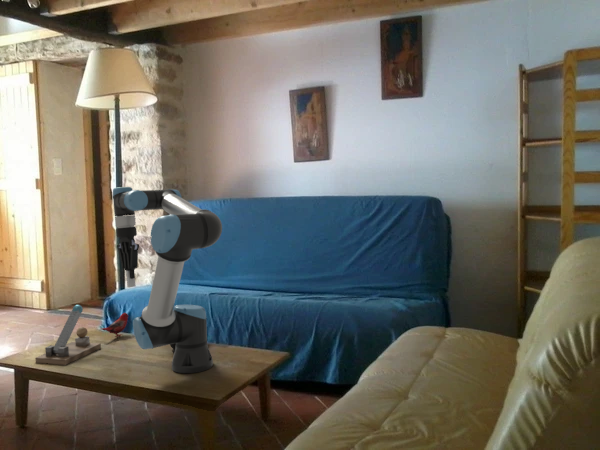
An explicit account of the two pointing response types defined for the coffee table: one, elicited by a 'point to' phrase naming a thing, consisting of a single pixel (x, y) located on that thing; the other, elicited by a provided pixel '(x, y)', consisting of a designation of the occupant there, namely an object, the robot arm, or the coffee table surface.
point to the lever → (68, 328)
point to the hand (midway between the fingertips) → (131, 286)
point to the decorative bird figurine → (118, 325)
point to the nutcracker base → (70, 350)
